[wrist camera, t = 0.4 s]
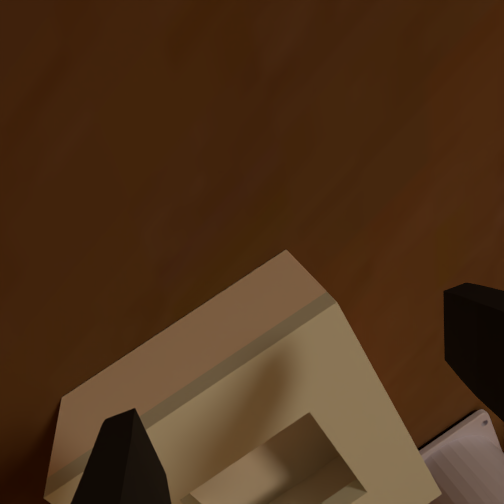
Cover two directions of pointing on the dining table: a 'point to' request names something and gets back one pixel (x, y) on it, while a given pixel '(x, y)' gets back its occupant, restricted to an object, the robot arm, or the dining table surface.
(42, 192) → the dining table surface
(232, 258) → the dining table surface
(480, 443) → the robot arm
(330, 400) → the beige square holder
